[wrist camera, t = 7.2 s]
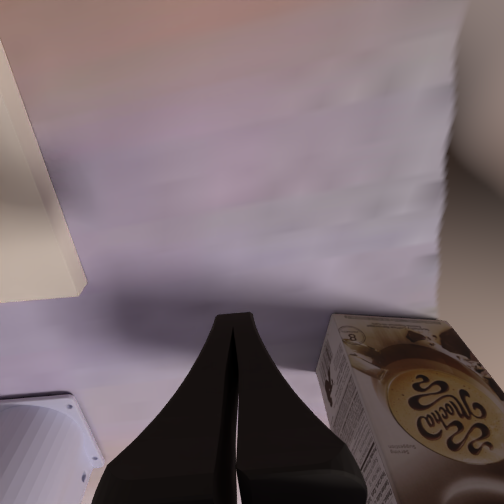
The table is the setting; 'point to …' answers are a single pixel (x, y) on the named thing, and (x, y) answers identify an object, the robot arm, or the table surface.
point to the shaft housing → (30, 211)
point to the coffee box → (413, 410)
